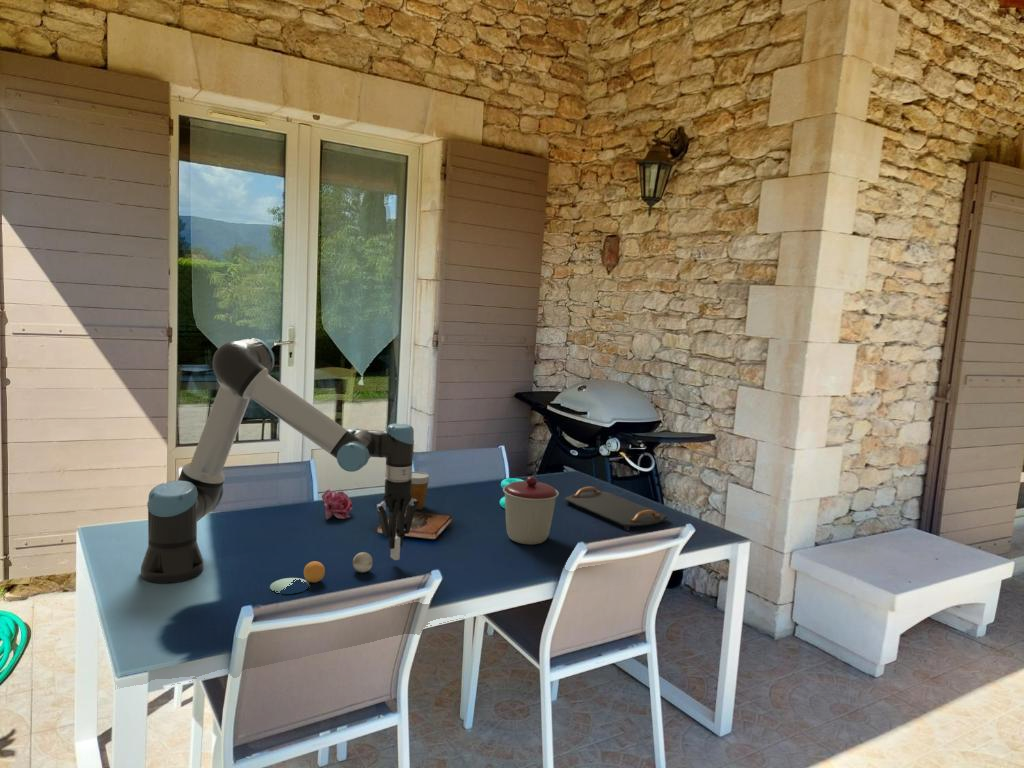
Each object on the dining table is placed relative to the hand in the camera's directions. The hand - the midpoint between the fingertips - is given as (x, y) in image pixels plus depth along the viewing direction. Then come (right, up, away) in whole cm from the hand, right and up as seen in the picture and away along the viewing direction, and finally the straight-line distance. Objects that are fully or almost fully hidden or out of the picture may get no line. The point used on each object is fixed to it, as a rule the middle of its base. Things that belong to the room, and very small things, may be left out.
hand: (394, 558), depth 205 cm
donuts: (+34, +4, +61) cm, 70 cm away
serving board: (+72, +1, +63) cm, 95 cm away
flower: (-26, +5, +38) cm, 46 cm away
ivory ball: (-8, 0, -6) cm, 10 cm away
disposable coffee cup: (-1, +5, +53) cm, 53 cm away
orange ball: (-19, 0, -15) cm, 24 cm away
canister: (+39, -1, +29) cm, 48 cm away
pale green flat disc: (-24, -3, -18) cm, 31 cm away
